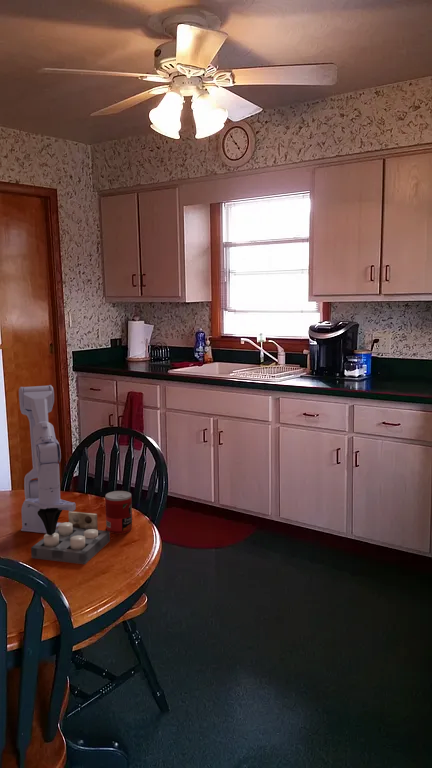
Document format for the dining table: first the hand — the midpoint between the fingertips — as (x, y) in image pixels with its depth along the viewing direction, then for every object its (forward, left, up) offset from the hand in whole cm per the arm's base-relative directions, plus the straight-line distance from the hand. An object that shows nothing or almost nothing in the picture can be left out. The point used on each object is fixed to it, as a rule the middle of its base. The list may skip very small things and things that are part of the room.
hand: (51, 533), depth 170 cm
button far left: (0, +8, -3) cm, 9 cm away
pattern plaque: (+2, +15, -6) cm, 16 cm away
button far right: (+8, +8, -5) cm, 12 cm away
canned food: (+11, +21, -6) cm, 24 cm away
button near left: (0, 0, -3) cm, 3 cm away
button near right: (+8, 0, -3) cm, 9 cm away
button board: (+4, +4, -6) cm, 8 cm away
